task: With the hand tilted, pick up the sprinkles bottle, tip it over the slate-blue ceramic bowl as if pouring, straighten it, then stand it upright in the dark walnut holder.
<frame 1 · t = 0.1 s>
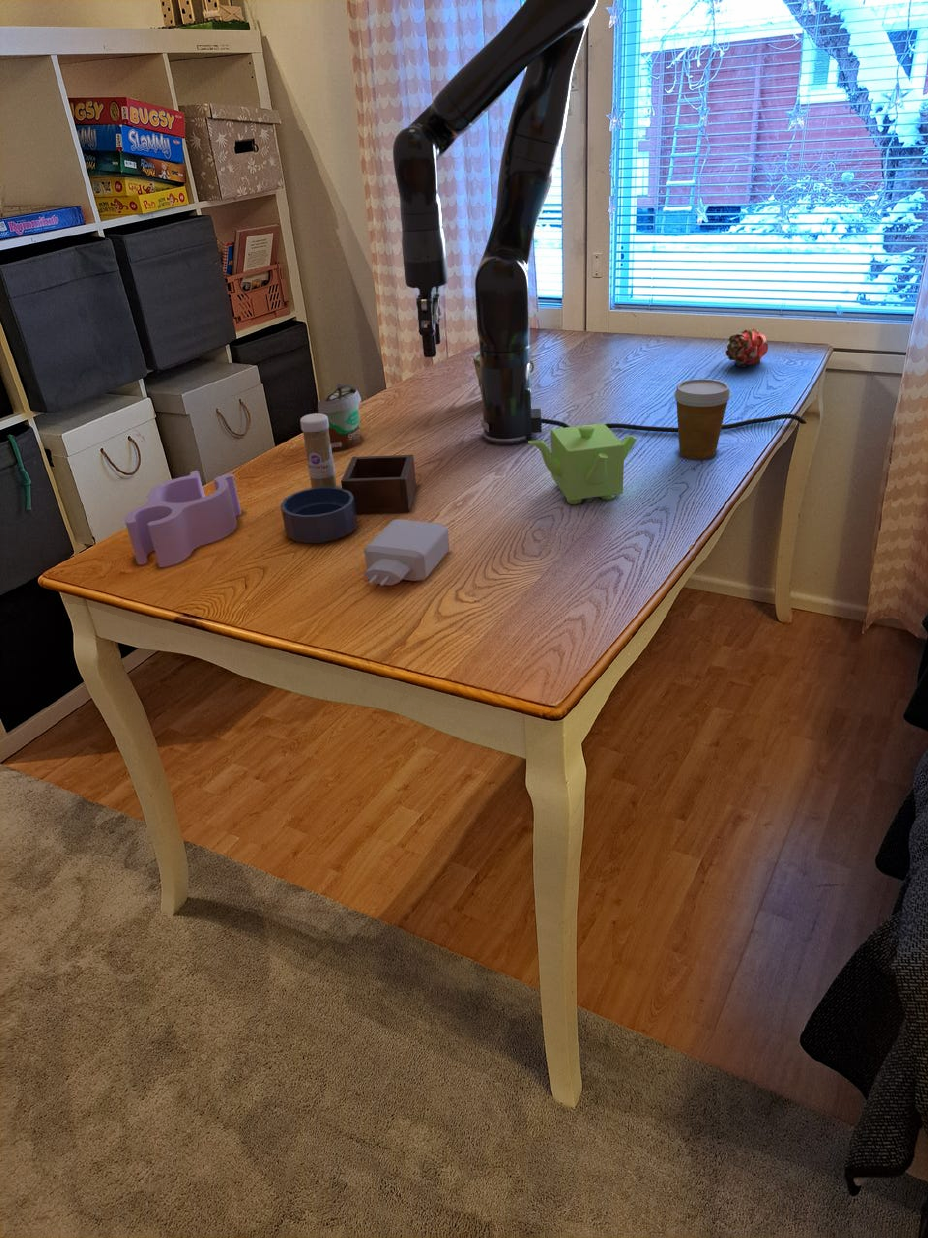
hand: (432, 350, 162), 17 cm above the table, tool pointing down, fingers open, 8 cm apart
dragon fruit: (745, 364, 200), on the table
ceramic cup: (505, 403, 188), on the table
food container: (350, 443, 173), on the table
sprinkles bottle: (325, 493, 152), on the table
holder: (382, 499, 148), on the table
clip: (188, 537, 141), on the table
kettle: (582, 494, 145), on the table
charger: (400, 574, 125), on the table
bowl: (322, 530, 139), on the table
disposable coffee cup: (697, 454, 157), on the table
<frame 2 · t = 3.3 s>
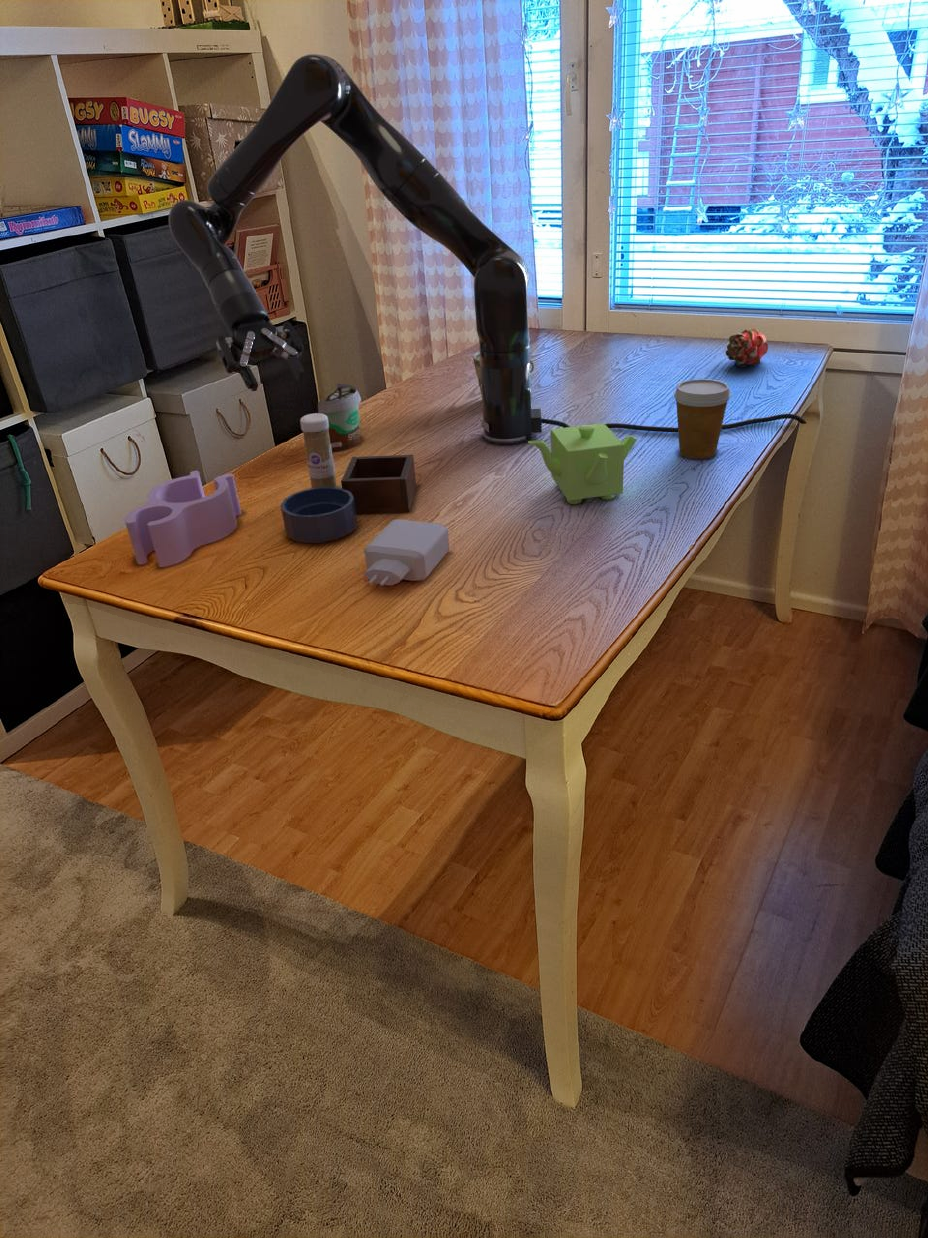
hand: (278, 382, 152), 17 cm above the table, tool tilted 45°, fingers open, 8 cm apart
nothing on the table moved.
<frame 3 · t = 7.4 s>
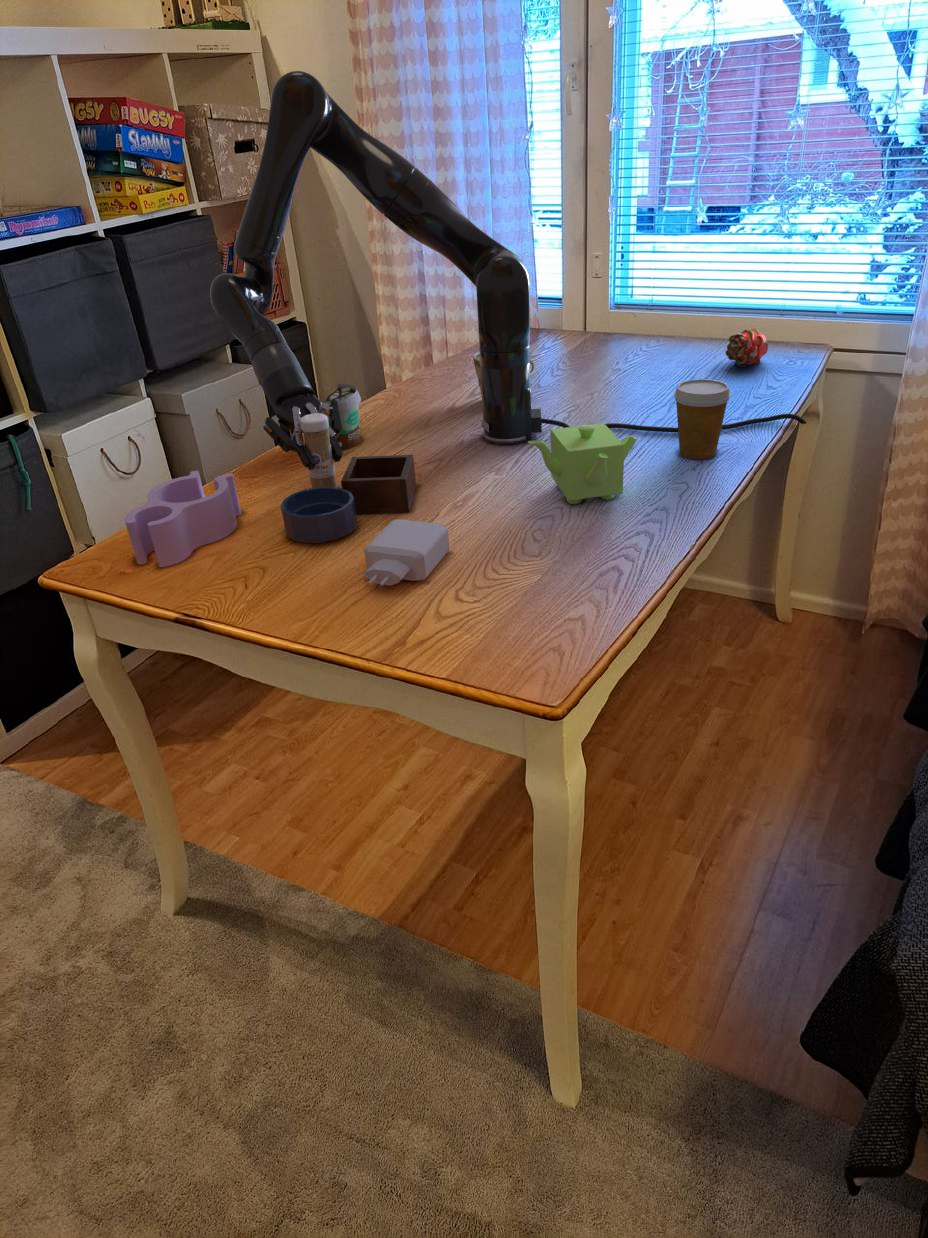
hand: (325, 463, 148), 6 cm above the table, tool tilted 45°, fingers closed on sprinkles bottle, 4 cm apart
sprinkles bottle: (325, 493, 152), on the table, touching gripper
everything else where it was.
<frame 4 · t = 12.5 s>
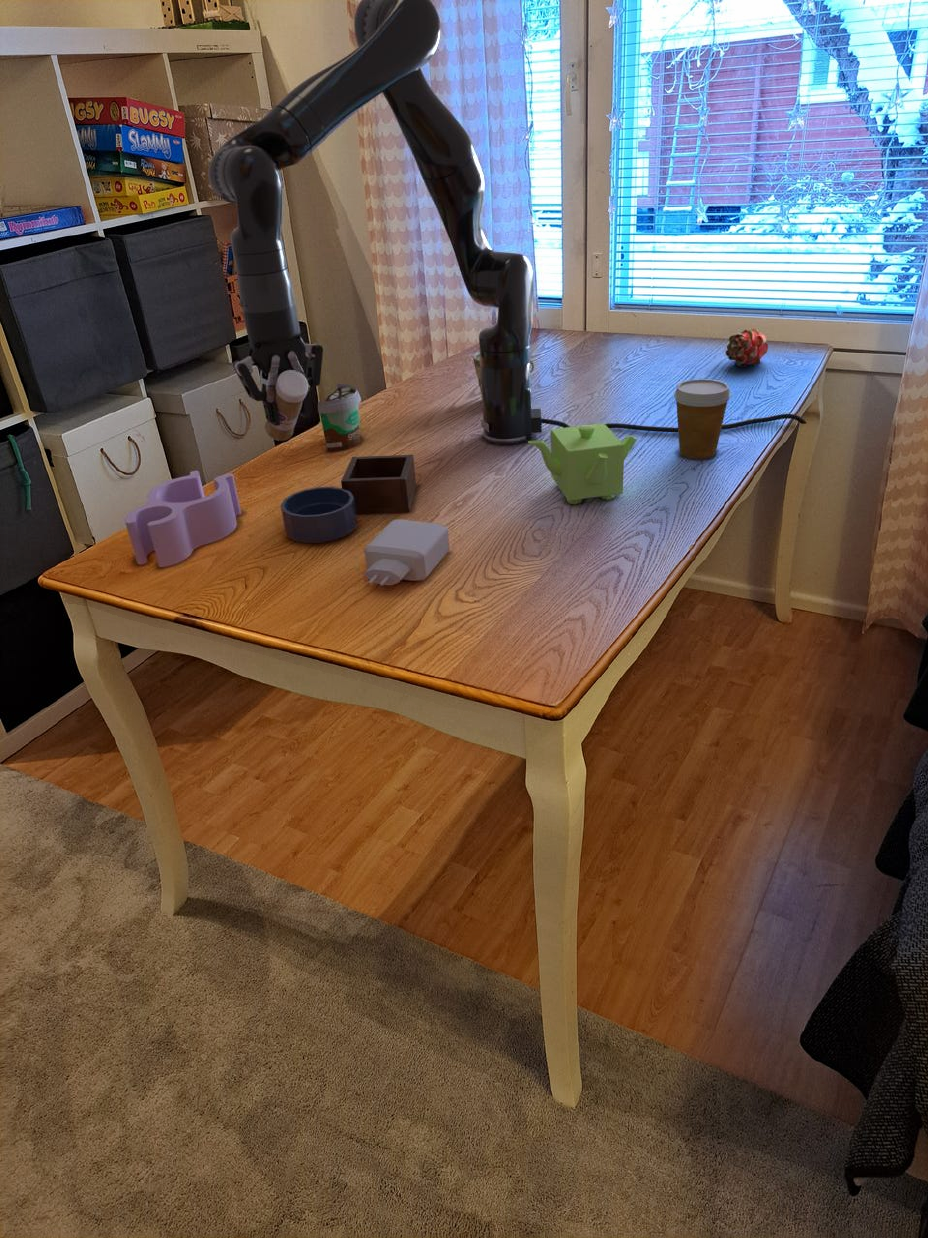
hand: (290, 419, 134), 17 cm above the table, tool pointing down, fingers closed on sprinkles bottle, 4 cm apart
sprinkles bottle: (279, 430, 140), point 14 cm above the table, touching gripper
everything else where it was.
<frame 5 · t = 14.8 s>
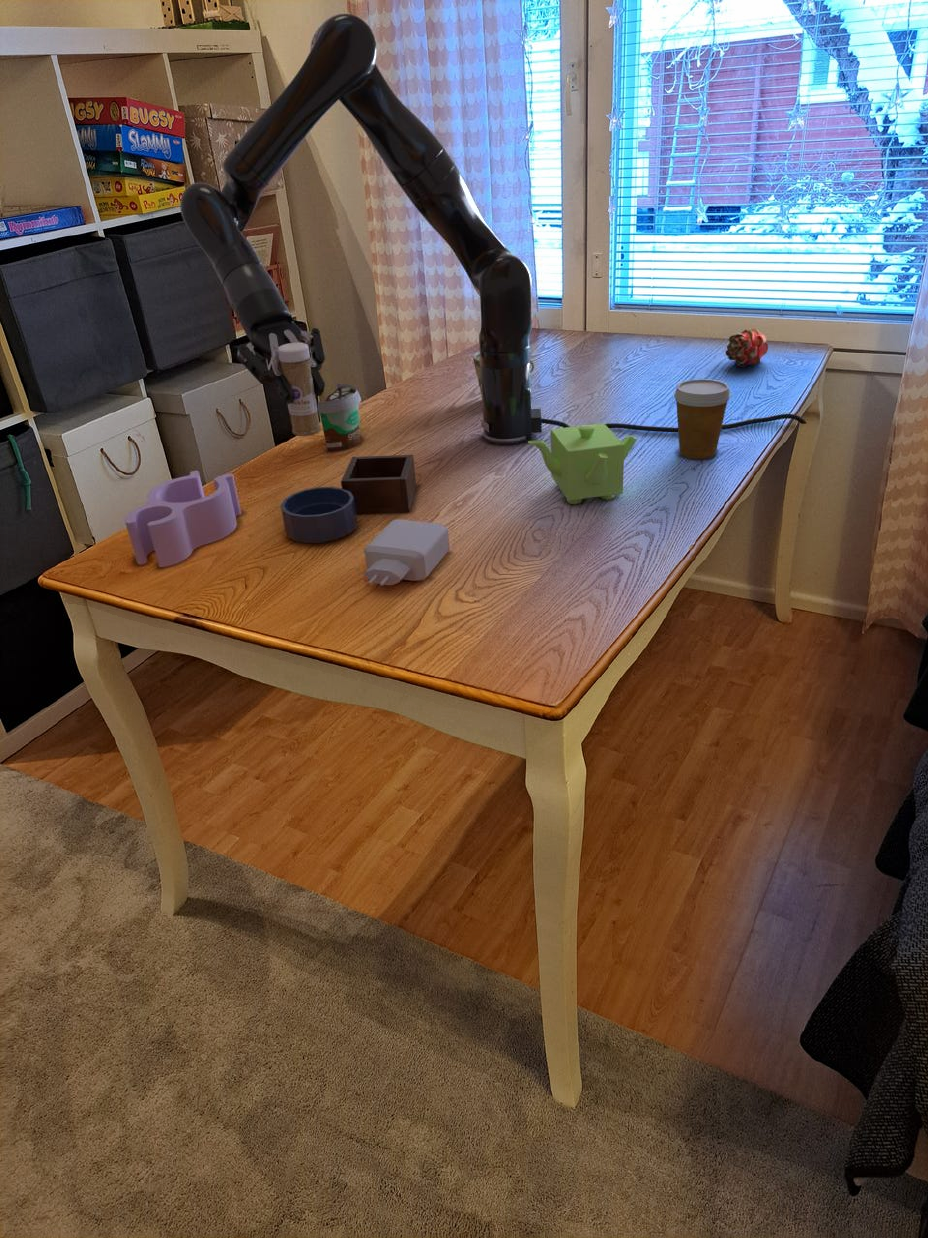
hand: (306, 396, 134), 20 cm above the table, tool tilted 45°, fingers closed on sprinkles bottle, 4 cm apart
sprinkles bottle: (307, 433, 138), point 14 cm above the table, touching gripper
everything else where it was.
when the fingers open (7 cm above the table, at t = 20.6 s): sprinkles bottle stays where it is, resting on holder.
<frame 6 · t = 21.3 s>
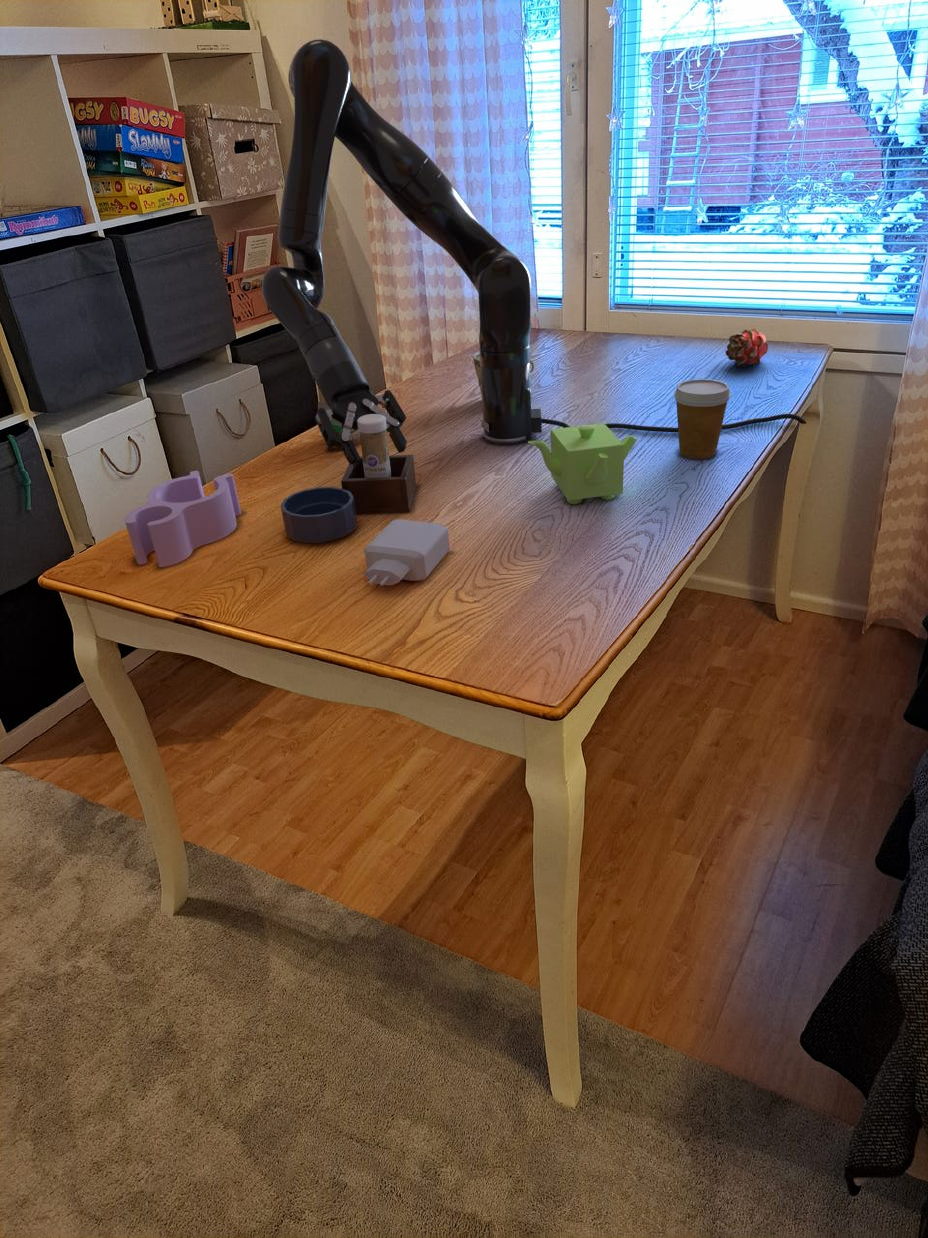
hand: (381, 456, 143), 8 cm above the table, tool tilted 45°, fingers open, 8 cm apart
sprinkles bottle: (380, 496, 148), point 1 cm above the table, touching holder
everything else where it was.
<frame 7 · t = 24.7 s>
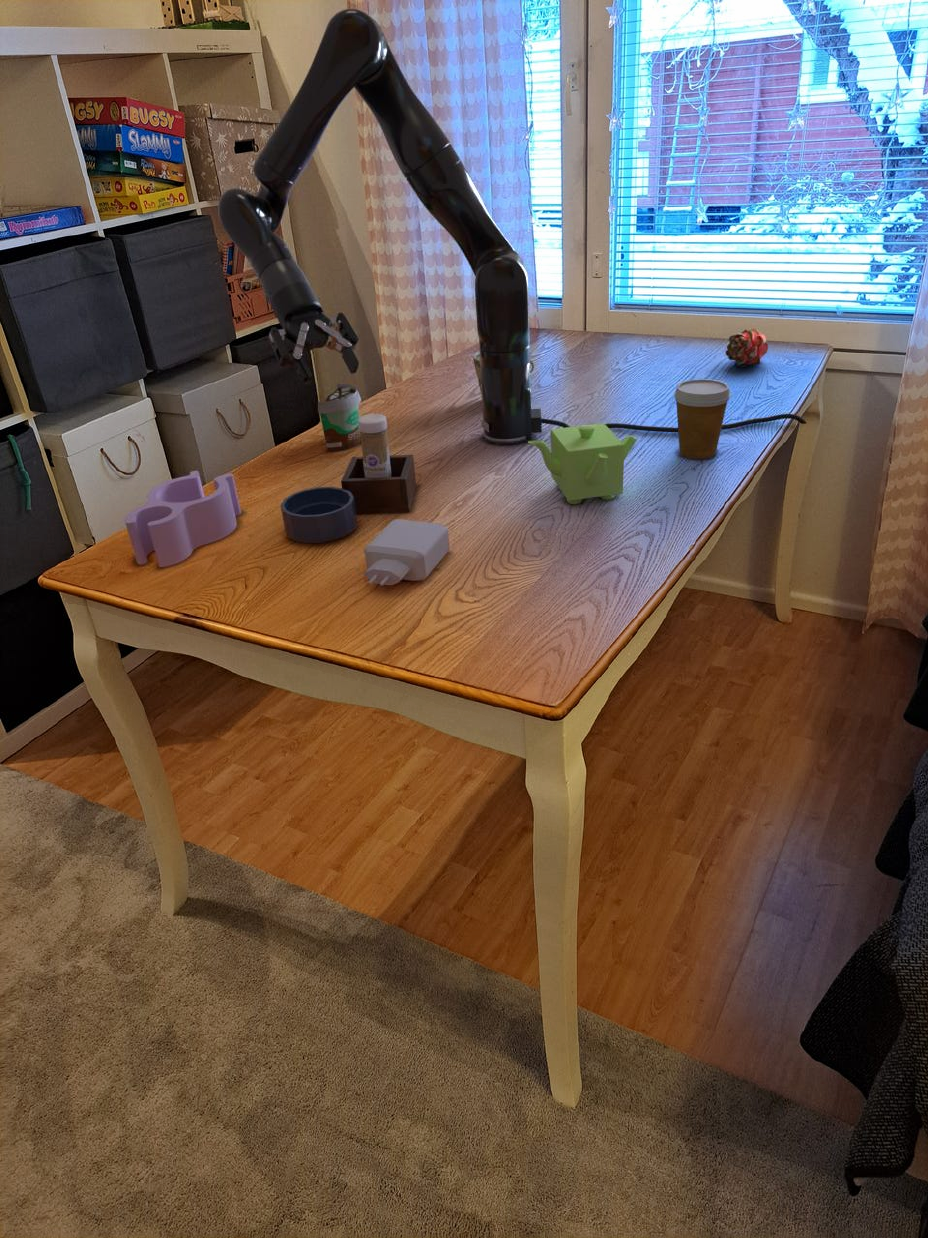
hand: (332, 376, 146), 19 cm above the table, tool tilted 45°, fingers open, 8 cm apart
nothing on the table moved.
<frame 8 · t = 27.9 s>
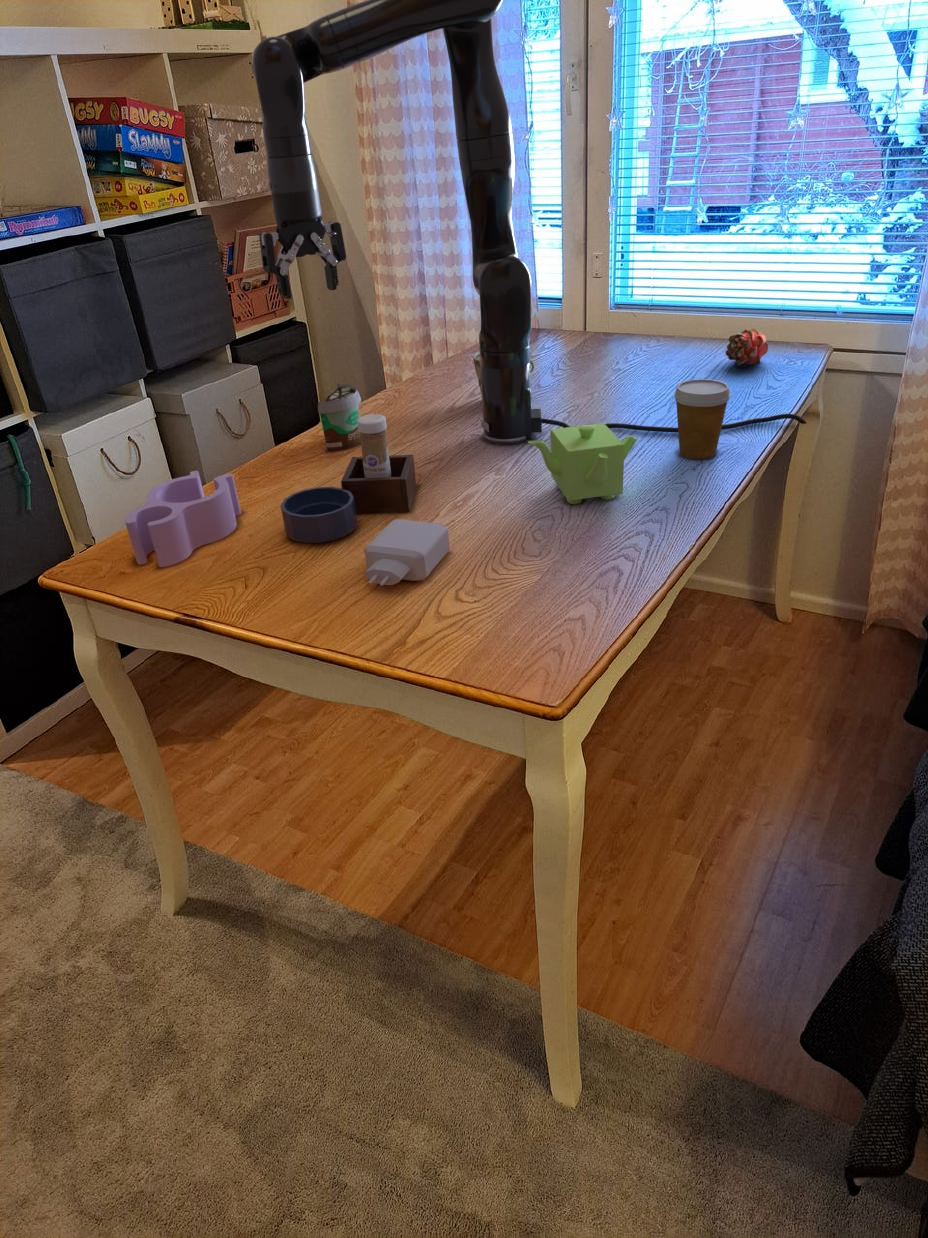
hand: (310, 293, 148), 30 cm above the table, tool pointing down, fingers open, 8 cm apart
nothing on the table moved.
at the end: sprinkles bottle 0.1 cm off-centre in the holder, point 0.6 cm above the holder's base; sprinkles bottle tilted 0°; the gripper is holding nothing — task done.
